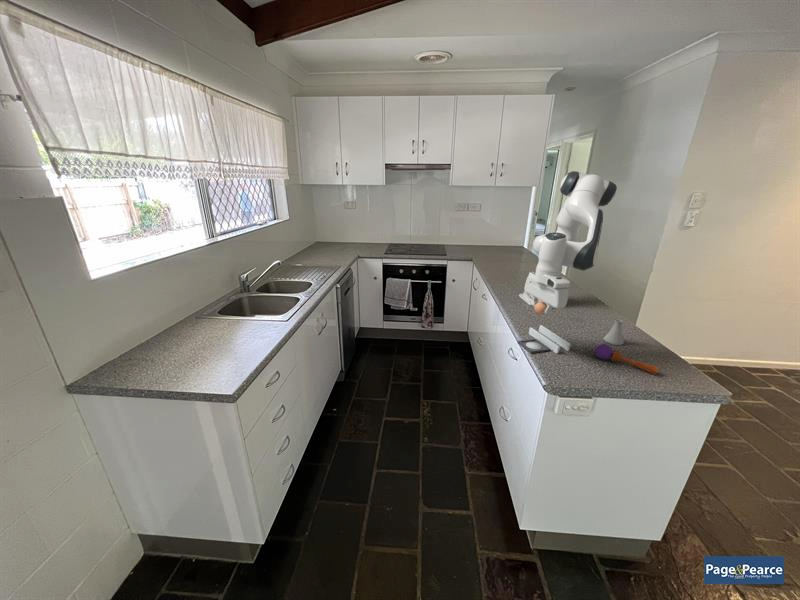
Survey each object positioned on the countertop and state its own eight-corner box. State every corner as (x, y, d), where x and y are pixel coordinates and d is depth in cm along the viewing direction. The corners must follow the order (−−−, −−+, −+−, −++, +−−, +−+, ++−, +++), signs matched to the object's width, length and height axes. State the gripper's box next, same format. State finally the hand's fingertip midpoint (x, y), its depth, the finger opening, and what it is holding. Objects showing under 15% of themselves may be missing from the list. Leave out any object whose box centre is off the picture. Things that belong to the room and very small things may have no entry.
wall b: (528, 333, 145) (529, 327, 144) (530, 333, 145) (531, 327, 144) (556, 353, 128) (558, 347, 127) (558, 353, 129) (559, 346, 128)
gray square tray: (517, 342, 136) (517, 340, 136) (535, 340, 139) (536, 338, 138) (531, 353, 128) (531, 351, 128) (550, 351, 130) (550, 348, 130)
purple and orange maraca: (658, 369, 112) (595, 346, 123) (652, 381, 116) (591, 358, 127) (661, 360, 116) (599, 338, 127) (654, 372, 119) (595, 350, 130)
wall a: (538, 331, 147) (539, 325, 146) (540, 331, 147) (541, 325, 146) (567, 350, 131) (569, 344, 130) (569, 350, 131) (570, 344, 130)
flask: (613, 346, 135) (619, 325, 131) (599, 338, 142) (605, 318, 138) (627, 344, 137) (633, 323, 133) (612, 337, 143) (618, 316, 140)
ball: (530, 312, 130) (532, 300, 128) (541, 311, 131) (543, 299, 129) (538, 317, 125) (541, 305, 123) (549, 316, 126) (552, 304, 125)
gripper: (523, 269, 131) (518, 301, 136) (559, 285, 113) (551, 321, 117) (536, 268, 132) (531, 300, 137) (574, 284, 114) (566, 319, 119)
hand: (541, 310), depth 127 cm, fingers closed on ball, 5 cm apart
